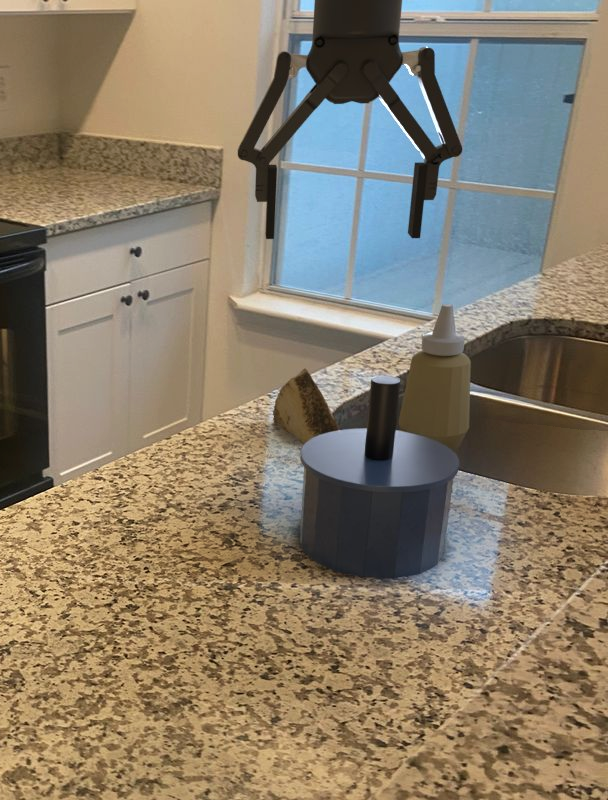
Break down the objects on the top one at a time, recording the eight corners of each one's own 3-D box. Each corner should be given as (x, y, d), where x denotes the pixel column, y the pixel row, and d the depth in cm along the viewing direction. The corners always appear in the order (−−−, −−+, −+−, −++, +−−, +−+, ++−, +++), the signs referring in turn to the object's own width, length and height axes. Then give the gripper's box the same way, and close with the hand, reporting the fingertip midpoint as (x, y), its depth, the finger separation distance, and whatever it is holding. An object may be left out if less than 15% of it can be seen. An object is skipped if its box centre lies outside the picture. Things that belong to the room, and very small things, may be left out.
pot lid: (443, 440, 103) (453, 357, 100) (472, 501, 90) (485, 407, 87) (296, 437, 105) (300, 355, 101) (303, 496, 92) (309, 405, 88)
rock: (251, 406, 134) (256, 423, 124) (293, 353, 131) (302, 366, 122) (316, 455, 135) (326, 475, 125) (359, 403, 132) (373, 420, 123)
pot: (429, 521, 107) (439, 436, 103) (453, 586, 95) (466, 492, 91) (296, 518, 109) (301, 434, 104) (303, 580, 96) (309, 488, 92)
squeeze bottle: (393, 462, 121) (409, 312, 114) (396, 438, 128) (411, 295, 121) (465, 468, 119) (486, 316, 111) (464, 443, 126) (484, 298, 118)
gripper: (497, -15, 91) (467, 228, 100) (216, -5, 95) (211, 229, 104) (518, -18, 85) (483, 242, 94) (214, -7, 88) (209, 244, 97)
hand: (341, 236), depth 99 cm, fingers open, 13 cm apart
